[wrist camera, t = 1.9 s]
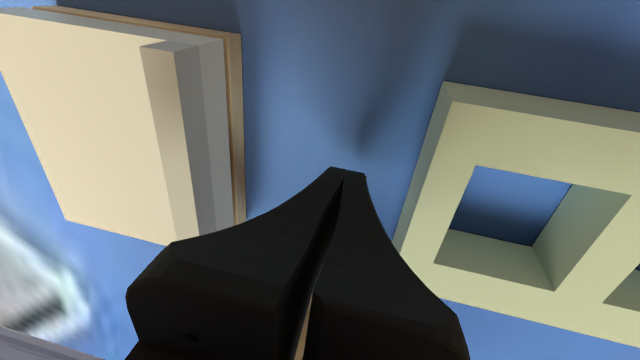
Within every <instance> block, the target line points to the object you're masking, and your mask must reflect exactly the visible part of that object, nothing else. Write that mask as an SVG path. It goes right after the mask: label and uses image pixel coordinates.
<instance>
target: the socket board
mask: <svg viewBox="0 0 640 360" xmlns="http://www.w3.org/2000/svg"><path fill="white" fill-rule="evenodd" d="M476 165H478V166H484V167H489V168H494V169H499V170H504V171H510V172H515V173H520V174H525V175H530V176H536V177H541V178H546V179H551V180H556V181H561V182H567V183H572V184H573V185H572V186H571V188H570V189H569V191H568V192H567V194H566V195H565V197H564V198H563V200H562V201H561V203H560V204H559V206H558V208H557V209H556V211H555V212H554V214H553V215H552V217H551V218H550V220H549V221H548V223H547V224H546V226H545V227H544V229H543V230H542V232H541V233H540V235H539V236H538V238H537V239H536V241H535V242H534V244H533V245H532V247H529V246H525V245H520V244H516V243H511V242H507V241H502V240H498V239H493V238H489V237H484V236H480V235H475V234H471V233H466V232H461V231H457V230H452V229H448V228H449V225H450V223H451V221H452V219H453V216H454V214H455V212H456V209H457V207H458V205H459V203H460V200H461V198H462V196H463V193H464V191H465V189H466V187H467V184H468V182H469V180H470V177H471V175H472V173H473V171H474V168H475V166H476ZM392 244H393V245H394V247H395V248H396V250H397V251H398V253H399V254H400V255H401V257H402V258H403V259H404V261H405V262H406V263H407V264H408V266H409V267H410V268H411V270H412V271H413V272H414V273H415V274H416V275H417V276H418V277H419V279H420V280H421V281H422V282H423V283H424V284H425V285H426V286H427V287H428V288H429V289H430V290H431V291H432V292H433V293H434V294H435V295H436V296H437V297H438V298H442V299H446V300H450V301H454V302H458V303H462V304H466V305H470V306H474V307H478V308H482V309H486V310H490V311H494V312H498V313H502V314H506V315H510V316H514V317H518V318H522V319H526V320H530V321H534V322H538V323H542V324H546V325H550V326H554V327H558V328H562V329H566V330H570V331H574V332H578V333H582V334H586V335H590V336H594V337H598V338H602V339H606V340H610V341H614V342H618V343H622V344H626V345H630V346H634V347H638V348H640V271H638V270H634V269H635V268H636V267H637V266H638V265H639V264H640V113H639V112H633V111H627V110H620V109H614V108H608V107H602V106H595V105H589V104H583V103H577V102H571V101H564V100H558V99H552V98H546V97H540V96H533V95H527V94H521V93H515V92H509V91H502V90H496V89H490V88H484V87H478V86H471V85H465V84H459V83H453V82H446V81H443V82H442V85H441V89H440V92H439V95H438V98H437V101H436V104H435V108H434V111H433V114H432V117H431V120H430V123H429V126H428V130H427V133H426V136H425V139H424V142H423V145H422V148H421V152H420V155H419V158H418V161H417V164H416V167H415V171H414V174H413V177H412V180H411V183H410V186H409V189H408V193H407V196H406V199H405V202H404V205H403V208H402V211H401V215H400V218H399V221H398V224H397V227H396V230H395V234H394V237H393V240H392Z"/></svg>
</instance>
